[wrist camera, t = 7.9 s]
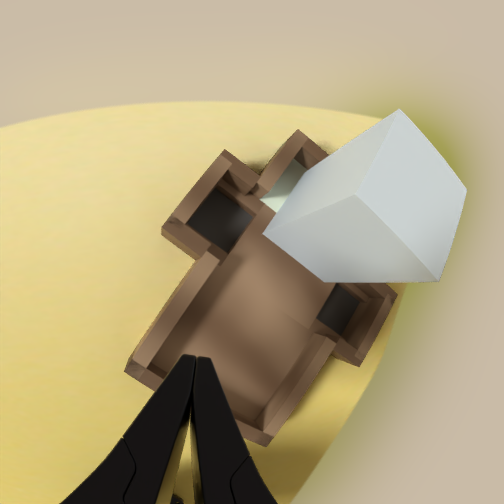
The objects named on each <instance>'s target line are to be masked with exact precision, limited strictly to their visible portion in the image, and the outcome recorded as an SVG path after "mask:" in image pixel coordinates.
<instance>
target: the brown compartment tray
mask: <svg viewBox="0 0 504 504" xmlns="http://www.w3.org/2000/svg"><path fill="white" fill-rule="evenodd" d="M328 156H329V155H328V154H327V153H326V152H325V151H324V150H322V149H321V148H320V147H319V146H318V145H317V144H315V143H314V142H313V141H312V140H311V139H309V138H308V137H307V136H306V135H305V134H303V133H302V132H301V131H300V130H299V129H298V130H297V131H296V132H295V133H294V134H293V135H292V136H291V137H290V138H289V139H288V140H287V141H286V142H285V143H284V144H283V145H282V146H281V147H280V148H279V150H278V151H277V152H276V153H275V155H274V156H273V157H272V159H271V160H270V161H269V162H268V164H267V165H266V166H265V168H264V169H263V170H262V172H261V173H260V174H259V175H258V174H257V173H255V172H254V171H253V170H252V169H250V168H249V167H248V166H246V165H245V164H244V163H242V162H241V161H240V160H239V159H237V158H236V157H235V156H233V155H232V154H231V153H229V152H228V151H227V150H225V149H224V150H223V152H222V153H221V154H220V155H219V156H218V157H217V159H216V160H215V161H214V162H213V163H212V165H211V166H210V167H209V168H208V169H207V171H206V172H205V173H204V174H203V175H202V177H201V178H200V179H199V180H198V182H197V183H196V184H195V185H194V186H193V188H192V189H191V190H190V191H189V193H188V194H187V195H186V196H185V198H184V199H183V200H182V201H181V203H180V204H179V205H178V207H177V208H176V209H175V210H174V212H173V213H172V214H171V216H170V217H169V218H168V220H167V221H166V222H165V223H164V225H163V226H162V232H161V235H162V236H164V237H165V238H166V239H168V240H169V241H170V242H172V243H173V244H174V245H176V246H177V247H178V248H180V249H181V250H182V251H184V252H185V253H186V254H188V255H189V256H191V257H192V258H193V259H195V260H196V261H195V262H194V264H193V265H192V266H191V268H190V269H189V271H188V272H187V274H186V275H185V276H184V278H183V279H182V281H181V282H180V284H179V285H178V286H177V288H176V289H175V291H174V292H173V294H172V295H171V296H170V298H169V299H168V301H167V302H166V304H165V305H164V307H163V308H162V310H161V311H160V312H159V314H158V315H157V317H156V318H155V320H154V321H153V323H152V324H151V326H150V327H149V329H148V330H147V332H146V333H145V335H144V336H143V338H142V339H141V341H140V342H139V344H138V345H137V347H136V348H135V350H134V351H133V353H132V354H131V356H130V357H129V359H128V362H127V365H126V367H125V370H124V372H125V373H127V374H128V375H130V376H131V377H133V378H134V379H136V380H138V381H139V382H141V383H142V384H144V385H145V386H147V387H149V388H150V389H152V390H154V391H156V389H157V388H158V387H159V385H160V384H161V383H162V381H163V380H164V378H165V377H166V376H167V374H168V373H169V372H170V370H171V369H172V367H173V366H174V365H175V363H176V362H177V361H178V359H179V358H180V356H181V355H182V354H189V355H195V356H196V359H197V357H198V356H203V357H209V358H211V359H212V362H213V364H214V367H215V370H216V372H217V375H218V378H219V380H220V383H221V385H222V388H223V391H224V393H225V396H226V398H227V401H228V403H229V406H230V408H231V410H232V413H233V415H234V418H235V420H236V423H237V425H238V427H239V430H240V432H241V434H242V437H243V438H245V439H248V440H250V441H252V442H255V443H257V444H259V445H262V446H264V447H267V446H268V444H269V443H270V442H271V440H272V439H273V438H274V436H275V435H276V434H277V432H278V431H279V430H280V428H281V427H282V426H283V424H284V423H285V421H286V420H287V419H288V417H289V416H290V414H291V413H292V412H293V410H294V409H295V407H296V406H297V404H298V403H299V402H300V400H301V399H302V397H303V396H304V394H305V393H306V391H307V390H308V388H309V387H310V385H311V384H312V382H313V381H314V379H315V378H316V376H317V374H318V373H319V371H320V370H321V368H322V367H323V365H324V363H325V362H326V360H327V359H328V357H329V355H330V354H331V355H333V356H334V357H336V358H337V359H340V360H342V361H345V362H347V363H350V364H352V365H355V366H357V367H360V365H361V363H362V362H363V360H364V358H365V356H366V355H367V353H368V351H369V349H370V348H371V346H372V344H373V342H374V340H375V338H376V337H377V335H378V333H379V331H380V329H381V327H382V325H383V323H384V321H385V319H386V317H387V315H388V313H389V311H390V309H391V307H392V305H393V303H394V301H395V299H396V297H397V295H398V294H396V293H395V292H394V291H393V290H392V289H391V288H390V287H389V286H388V285H387V284H386V283H343V282H323V281H322V280H321V279H319V278H318V277H317V276H316V275H314V274H313V273H312V272H311V271H309V270H308V269H307V268H306V267H304V266H303V265H302V264H300V263H299V262H298V261H297V260H295V259H294V258H293V257H292V256H290V255H289V254H288V253H286V252H285V251H284V250H283V249H281V248H280V247H279V246H278V245H276V244H275V243H274V242H272V241H271V240H270V239H269V238H267V237H266V236H265V235H263V234H262V233H263V232H264V231H265V229H266V228H267V226H268V225H269V223H270V222H271V220H272V219H273V217H274V216H275V215H276V213H277V212H278V210H279V209H280V207H281V206H282V204H283V203H284V201H285V200H286V199H287V197H288V196H289V194H290V193H291V191H292V190H293V188H294V187H295V186H296V184H297V183H298V181H299V180H300V178H301V177H302V175H303V174H304V173H305V172H306V171H308V170H309V169H310V168H312V167H313V166H315V165H316V164H318V163H319V162H321V161H322V160H323V159H325V158H326V157H328Z"/></svg>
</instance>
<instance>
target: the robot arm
mask: <svg viewBox="0 0 504 504" xmlns="http://www.w3.org/2000/svg"><path fill="white" fill-rule="evenodd" d="M190 413H191V415H190ZM189 420H190V439H191V458H192V473H193V487H194V499H195V504H278V503H277V502H276V500H275V499H274V497H273V496H272V494H271V493H270V491H269V490H268V488H267V486H266V485H265V483H264V481H263V479H262V478H261V476H260V474H259V472H258V470H257V468H256V466H255V463H254V461H253V459H252V457H251V456H249V455H250V453H249V450H248V448H247V446H246V444H245V441H244V439H243V437H242V434H241V432H240V430H239V427H238V425H237V423H236V420H235V418H234V415H233V413H232V410H231V408H230V406H229V403H228V401H227V398H226V396H225V393H224V391H223V388H222V385H221V383H220V380H219V378H218V375H217V372H216V370H215V367H214V364H213V362H212V359H211V358H209V357H203V356H198V357H197V359H196V356H195V355H189V354H182V355H181V356H180V358H179V359H178V361H177V362H176V363H175V365H174V366H173V367H172V369H171V370H170V372H169V373H168V374H167V376H166V377H165V378H164V380H163V381H162V383H161V384H160V385H159V387H158V388H157V389H156V391H155V392H154V394H153V395H152V396H151V398H150V399H149V400H148V402H147V403H146V405H145V406H144V407H143V409H142V410H141V411H140V413H139V414H138V416H137V417H136V418H135V420H134V421H133V422H132V424H131V425H130V426H129V428H128V429H127V431H126V432H125V433H124V435H123V438H121V439H120V440H119V441H118V443H117V444H116V445H115V447H114V448H113V449H112V451H111V452H110V453H109V454H108V456H107V457H106V458H105V459H104V461H103V462H102V463H101V464H100V465H99V466H98V467H97V468H96V469H95V470H94V471H93V472H92V473H91V474H90V475H89V476H88V477H87V478H86V479H85V480H84V481H83V482H82V483H81V484H80V485H79V486H78V487H77V488H76V489H75V490H74V491H73V492H72V493H71V494H70V495H69V496H68V497H67V498H66V499H64V500H63V501H62V502H61V503H60V504H184V503H183V500H182V499H181V498H179V497H177V496H176V495H174V494H172V493H173V489H174V485H175V480H176V476H177V472H178V468H179V463H180V459H181V455H182V451H183V447H184V443H185V438H186V434H187V430H188V426H189ZM176 502H180V503H176Z"/></svg>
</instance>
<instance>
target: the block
mask: <svg viewBox="0 0 504 504" xmlns="http://www.w3.org/2000/svg"><path fill="white" fill-rule="evenodd" d="M466 192H467V189H466V188H465V187H464V185H463V184H462V182H461V181H460V180H459V178H458V177H457V175H456V174H455V173H454V171H453V170H452V169H451V167H450V166H449V165H448V164H447V162H446V161H445V160H444V159H443V157H442V156H441V155H440V154H439V153H438V151H437V150H436V149H435V148H434V146H433V145H432V144H431V143H430V142H429V140H428V139H427V138H426V137H425V136H424V135H423V134H422V132H421V131H420V130H419V129H418V128H417V127H416V126H415V124H414V123H413V122H412V121H411V120H410V119H409V118H408V117H407V116H406V115H405V114H404V113H403V112H402V111H401V109H398V110H397V111H395V112H394V113H392V114H391V115H389V116H388V117H386V118H384V119H383V120H381V121H380V122H378V123H377V124H375V125H374V126H372V127H371V128H369V129H368V130H366V131H365V132H363V133H362V134H360V135H359V136H357V137H356V138H354V139H353V140H351V141H350V142H348V143H347V144H345V145H344V146H342V147H341V148H340V149H338V150H337V151H335V152H334V153H332V154H331V155H329V156H328V157H326V158H325V159H323V160H322V161H321V162H319V163H318V164H316V165H315V166H313V167H312V168H310V169H309V170H308V171H306V172H305V173H304V174H303V175H302V177H301V178H300V180H299V181H298V183H297V184H296V186H295V187H294V188H293V190H292V191H291V193H290V194H289V196H288V197H287V199H286V200H285V201H284V203H283V204H282V206H281V207H280V209H279V210H278V212H277V213H276V215H275V216H274V217H273V219H272V220H271V222H270V223H269V225H268V226H267V228H266V229H265V231H264V232H263V233H262V234H263V235H265V236H266V237H267V238H269V239H270V240H271V241H272V242H274V243H275V244H276V245H278V246H279V247H280V248H281V249H283V250H284V251H285V252H286V253H288V254H289V255H290V256H292V257H293V258H294V259H295V260H297V261H298V262H299V263H300V264H302V265H303V266H304V267H306V268H307V269H308V270H309V271H311V272H312V273H313V274H314V275H316V276H317V277H318V278H319V279H321V280H322V281H323V282H343V283H389V282H439V280H440V278H441V275H442V272H443V269H444V267H445V264H446V261H447V258H448V255H449V252H450V249H451V246H452V243H453V240H454V236H455V233H456V229H457V226H458V223H459V219H460V216H461V212H462V208H463V204H464V200H465V196H466Z"/></svg>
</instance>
